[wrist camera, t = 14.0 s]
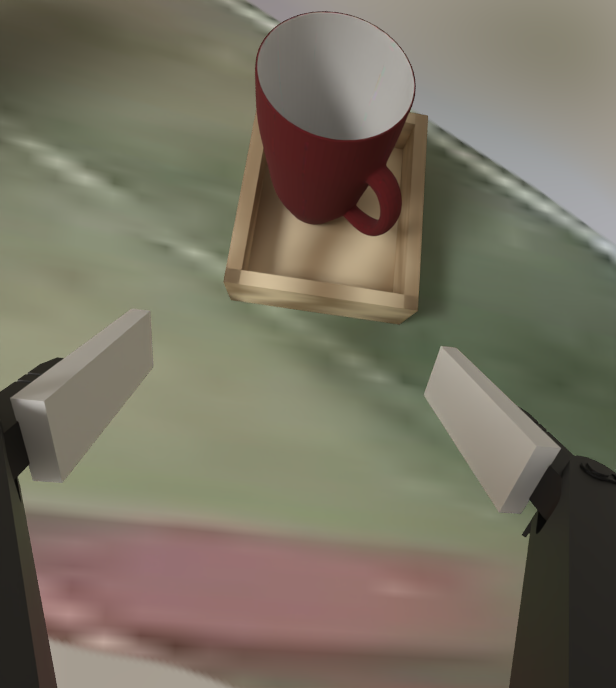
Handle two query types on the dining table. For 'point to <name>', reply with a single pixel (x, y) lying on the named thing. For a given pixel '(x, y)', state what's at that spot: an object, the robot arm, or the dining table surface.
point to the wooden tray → (330, 244)
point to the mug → (333, 116)
